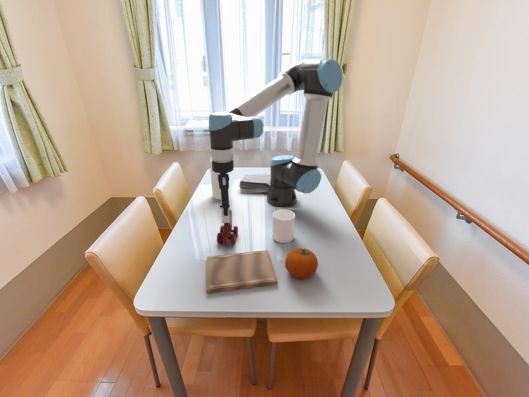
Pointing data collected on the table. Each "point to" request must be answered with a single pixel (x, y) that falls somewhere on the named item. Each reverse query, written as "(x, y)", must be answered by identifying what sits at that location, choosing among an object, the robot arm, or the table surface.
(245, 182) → the towel
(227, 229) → the toy fire truck
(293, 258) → the fruit
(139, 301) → the table surface
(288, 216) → the mug
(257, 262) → the board
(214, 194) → the bottle
